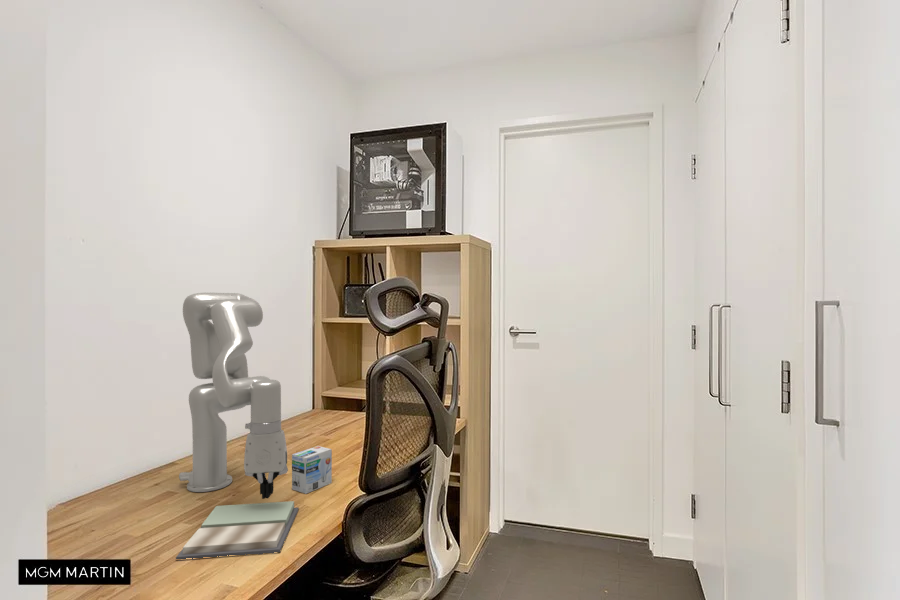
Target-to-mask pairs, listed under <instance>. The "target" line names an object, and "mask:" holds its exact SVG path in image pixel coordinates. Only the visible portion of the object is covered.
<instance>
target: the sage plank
mask: <svg viewBox="0 0 900 600" xmlns="http://www.w3.org/2000/svg"><path fill="white" fill-rule="evenodd" d="M293 508H295V501H293V500H290V501H275V502H260V503H242V504H225V505H224V504H223V505H216V506H215V507H214V508H213V509H212V511H211V512H210V513H209V515H208V516H207V517H206V519H204V521H203V522H202V524H201V525H200V526H201V527H200V528H211V527H226V526H240V525H255V524H270V523H285V525H287V523H288V520H289V518H290V516H291V513H292V511H293Z"/></svg>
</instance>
